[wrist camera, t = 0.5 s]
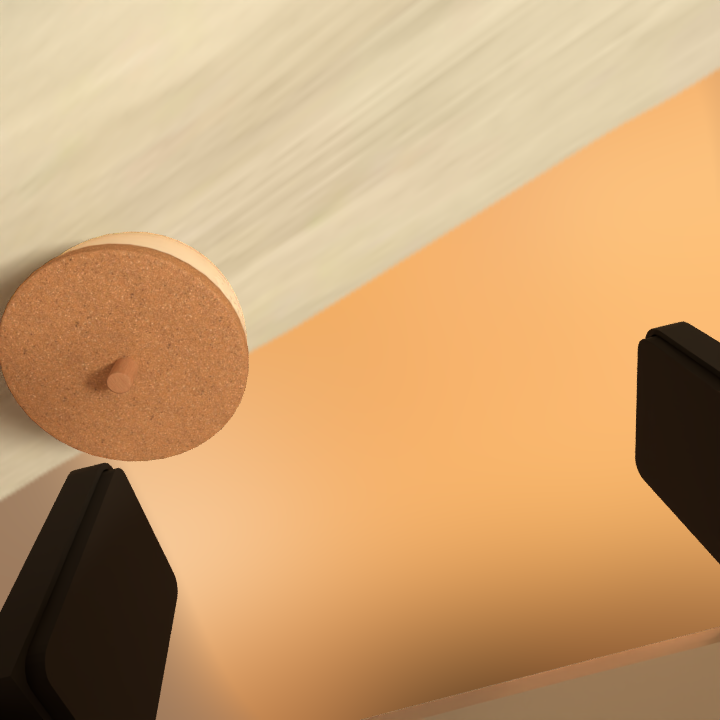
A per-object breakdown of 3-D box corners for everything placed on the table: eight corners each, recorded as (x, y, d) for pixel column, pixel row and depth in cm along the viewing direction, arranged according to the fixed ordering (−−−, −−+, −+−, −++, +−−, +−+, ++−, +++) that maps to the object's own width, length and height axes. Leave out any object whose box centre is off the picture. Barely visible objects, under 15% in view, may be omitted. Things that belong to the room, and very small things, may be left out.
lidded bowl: (181, 170, 36) (148, 210, 26) (286, 334, 41) (291, 418, 32) (9, 269, 37) (-84, 342, 27) (135, 415, 43) (95, 519, 33)
